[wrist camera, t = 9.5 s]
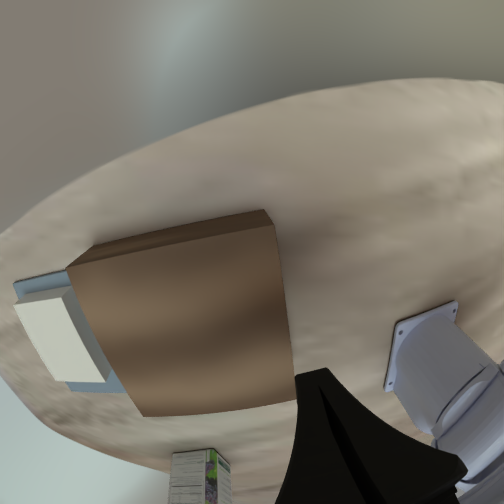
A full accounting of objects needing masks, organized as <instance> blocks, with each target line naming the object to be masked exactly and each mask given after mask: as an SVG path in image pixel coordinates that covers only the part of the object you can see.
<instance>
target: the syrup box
mask: <svg viewBox="0 0 504 504" xmlns="http://www.w3.org/2000/svg"><path fill="white" fill-rule="evenodd" d="M168 504H232V489H231V471H230V465H229V464H228V463H227V462H226V461H225V460H224V459H223V458H222V457H221V456H220V455H219V454H218V453H217V452H216V451H215V450H214V449H207V450H200V451H192V452H184V453H174V454H173V455H172V464H171V473H170V483H169V494H168Z"/></svg>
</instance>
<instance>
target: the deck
mask: <svg viewBox="0 0 504 504" xmlns="http://www.w3.org/2000/svg"><path fill="white" fill-rule="evenodd" d="M65 269H66V271H67V274H68V277H69V279H70V282H71V285H72V287H73V290H74V292H75V294H76V297H77V299H78V301H79V304H80V306H81V308H82V311H83V313H84V315H85V317H86V319H87V321H88V323H89V326H90V328H91V330H92V332H93V334H94V336H95V338H96V340H97V342H98V344H99V345H100V347H101V349H102V351H103V353H104V355H105V357H106V358H107V360H108V362H109V364H110V365H111V367H112V369H113V371H114V372H115V374H116V376H117V377H118V379H119V381H120V382H121V384H122V385H123V387H124V389H125V390H126V392H127V393H128V395H129V396H130V398H131V399H132V401H133V402H134V404H135V405H136V407H137V408H138V410H139V411H140V413H141V414H142V415H143V417H162V416H184V415H198V414H209V413H219V412H227V411H235V410H242V409H248V408H255V407H260V406H266V405H271V404H277V403H282V402H286V401H291V400H296V399H297V398H296V388H295V379H294V368H293V359H292V351H291V342H290V334H289V326H288V318H287V310H286V303H285V295H284V288H283V280H282V273H281V266H280V259H279V252H278V245H277V238H276V232H275V225H274V223H273V222H272V220H271V219H270V217H269V216H268V215H267V213H266V212H265V210H264V209H263V210H258V211H252V212H247V213H241V214H236V215H231V216H226V217H221V218H215V219H210V220H205V221H201V222H196V223H191V224H186V225H181V226H177V227H172V228H167V229H163V230H158V231H154V232H149V233H145V234H141V235H136V236H132V237H128V238H124V239H119V240H115V241H111V242H107V243H103V244H99V245H95V246H92V247H91V248H90V249H88V250H87V251H86V252H84V253H83V254H82V255H81V256H79V257H78V258H77V259H76V260H74V261H73V262H72V263H71V264H69V265H68V266H67V267H66V268H65Z"/></svg>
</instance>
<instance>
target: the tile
mask: <svg viewBox="0 0 504 504" xmlns="http://www.w3.org/2000/svg"><path fill="white" fill-rule="evenodd" d="M14 308H15V310H16V312H17V314H18V316H19V318H20V320H21V322H22V324H23V326H24V328H25V330H26V332H27V334H28V336H29V338H30V339H31V341H32V343H33V345H34V346H35V348H36V350H37V352H38V353H39V355H40V357H41V358H42V360H43V362H44V363H45V365H46V366H47V368H48V370H49V371H50V373H51V374H52V376H53V377H54V379H55V380H56V381H68V382H106V381H107V379H108V376H109V374H110V372H111V369H112V367H111V365H110V364H109V362H108V360H107V358H106V357H105V355H104V353H103V351H102V349H101V347H100V345H99V344H98V342H97V340H96V338H95V336H94V334H93V332H92V330H91V328H90V326H89V323H88V321H87V319H86V317H85V315H84V313H83V311H82V308H81V306H80V304H79V301H78V299H77V297H76V294H75V292H74V290H73V287H72V285H71V286H66V287H60V288H55V289H50V290H44V291H39V292H33V293H28V294H25V295H24V296H23V297H22V298H20V299H19V300H18V301H17V302H16V303H15V304H14Z"/></svg>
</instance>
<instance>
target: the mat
mask: <svg viewBox="0 0 504 504" xmlns="http://www.w3.org/2000/svg"><path fill="white" fill-rule="evenodd" d="M13 286H14V289H15V291H16V293H17V296H18V298H19V299H20V298H22V297H23V296H24V295H25V294H28V293H33V292H39V291H44V290H50V289H55V288H60V287H66V286H71V282H70V279H69V277H68V274H67V271H66V270H63V271H59V272H55V273H50V274H46V275H42V276H38V277H34V278H29V279H25V280H21V281H17V282H14V283H13ZM65 383H66V384H67V385H68V387H69V388H70V390H71V391H75V392H99V393H127V392H126V390H125V389H124V387H123V385H122V384H121V382H120V381H119V379H118V377H117V376H116V374H115V372H114V371H113V369H111V372H110V374H109V376H108V379H107V381H106V382H68V381H65Z"/></svg>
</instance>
